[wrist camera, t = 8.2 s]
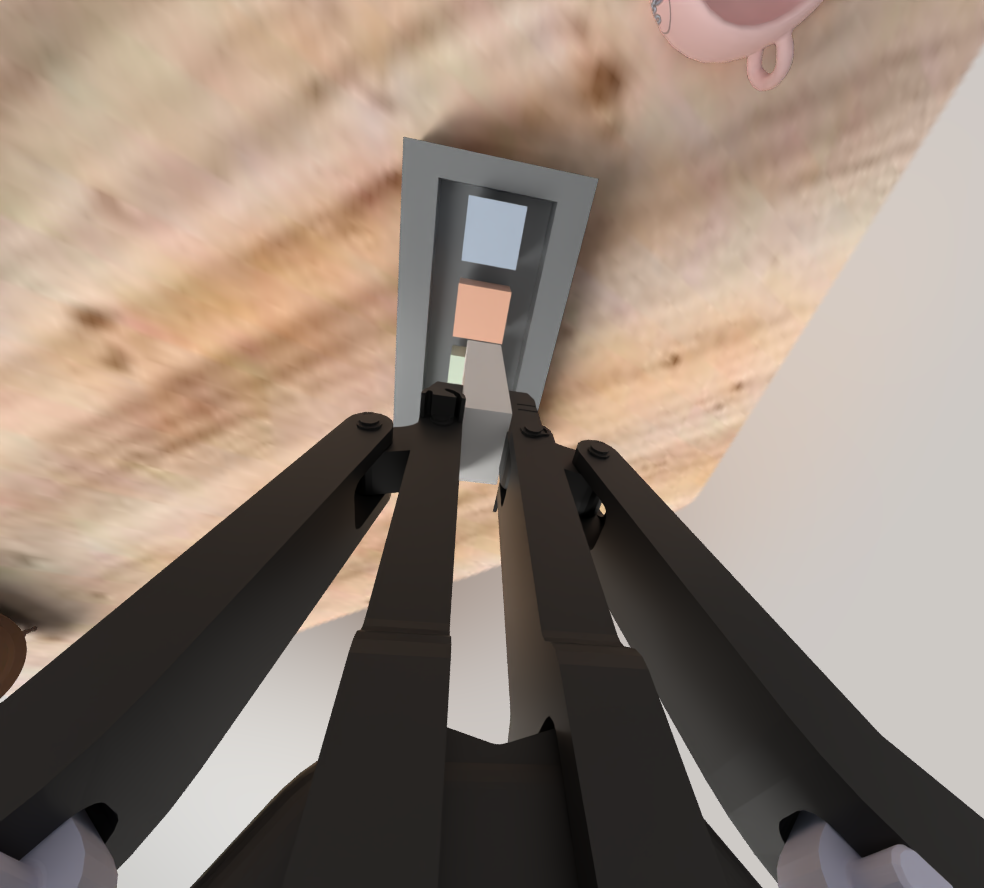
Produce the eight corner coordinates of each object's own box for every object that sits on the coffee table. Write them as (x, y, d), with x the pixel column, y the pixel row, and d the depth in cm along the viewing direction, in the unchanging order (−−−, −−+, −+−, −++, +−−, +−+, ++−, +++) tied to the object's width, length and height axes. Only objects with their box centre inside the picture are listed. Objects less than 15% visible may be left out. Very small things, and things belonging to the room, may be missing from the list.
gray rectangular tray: (400, 434, 38) (392, 457, 34) (413, 145, 25) (403, 136, 22) (518, 449, 39) (521, 473, 35) (583, 182, 27) (598, 179, 23)
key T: (454, 327, 29) (452, 336, 27) (460, 277, 27) (458, 283, 25) (500, 334, 30) (501, 344, 27) (509, 286, 28) (511, 292, 26)
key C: (447, 386, 32) (445, 398, 30) (452, 344, 30) (450, 354, 28) (490, 392, 32) (490, 405, 30) (497, 351, 30) (498, 362, 28)
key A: (462, 256, 26) (461, 260, 24) (469, 195, 25) (468, 194, 23) (513, 265, 27) (515, 270, 25) (523, 206, 25) (527, 206, 23)
